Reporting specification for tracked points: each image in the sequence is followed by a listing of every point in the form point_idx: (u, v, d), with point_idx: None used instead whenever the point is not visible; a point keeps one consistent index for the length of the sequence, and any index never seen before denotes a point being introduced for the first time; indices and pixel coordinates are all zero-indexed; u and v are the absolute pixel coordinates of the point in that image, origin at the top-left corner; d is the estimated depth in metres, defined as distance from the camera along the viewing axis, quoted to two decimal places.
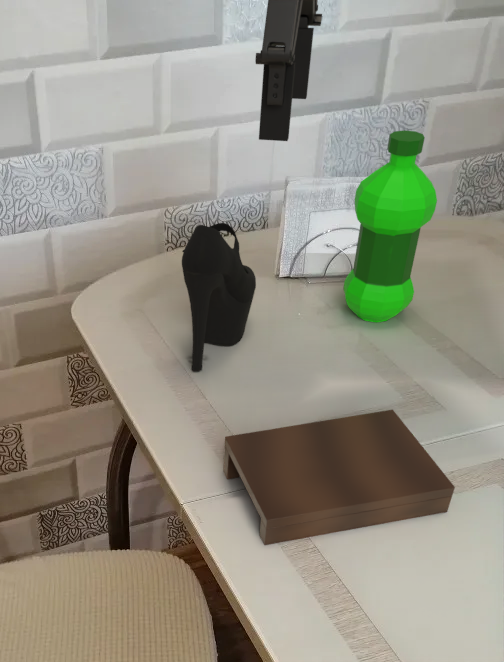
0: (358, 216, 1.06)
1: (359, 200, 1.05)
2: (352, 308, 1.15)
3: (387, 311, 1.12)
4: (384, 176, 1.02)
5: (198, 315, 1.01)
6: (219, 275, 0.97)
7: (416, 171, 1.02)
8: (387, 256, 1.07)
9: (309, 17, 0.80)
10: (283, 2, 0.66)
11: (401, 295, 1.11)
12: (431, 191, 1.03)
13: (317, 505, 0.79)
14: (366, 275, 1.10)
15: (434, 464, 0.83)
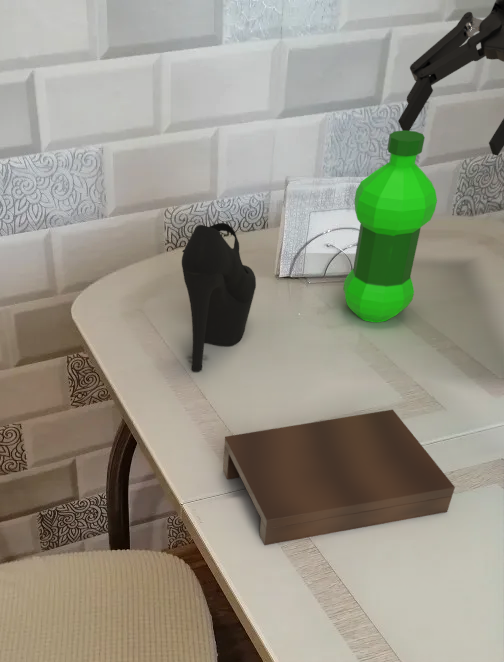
0: (358, 216, 1.06)
1: (359, 200, 1.05)
2: (352, 308, 1.15)
3: (387, 311, 1.12)
4: (384, 176, 1.02)
5: (198, 315, 1.01)
6: (219, 275, 0.97)
7: (416, 171, 1.02)
8: (387, 256, 1.07)
9: (434, 81, 1.11)
10: None
11: (401, 295, 1.11)
12: (431, 191, 1.03)
13: (317, 505, 0.79)
14: (366, 275, 1.10)
15: (434, 464, 0.83)
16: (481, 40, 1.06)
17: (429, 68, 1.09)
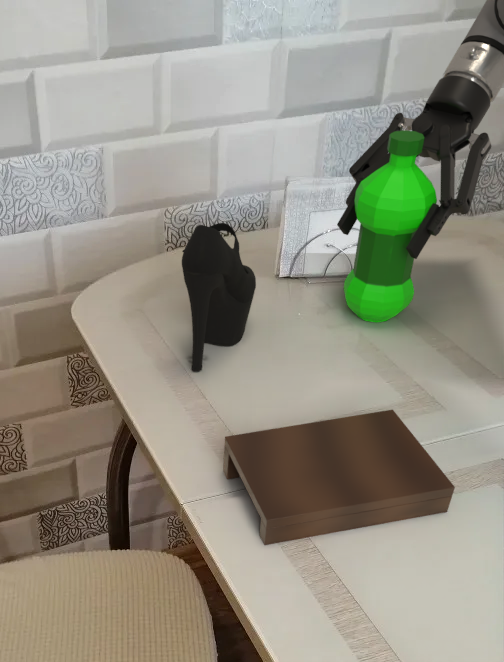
0: (358, 216, 1.06)
1: (359, 200, 1.05)
2: (352, 308, 1.15)
3: (387, 311, 1.12)
4: (384, 176, 1.02)
5: (198, 315, 1.01)
6: (219, 275, 0.97)
7: (416, 172, 1.02)
8: (387, 256, 1.07)
9: None
10: (475, 178, 1.02)
11: (401, 295, 1.11)
12: (431, 191, 1.03)
13: (317, 505, 0.79)
14: (366, 275, 1.10)
15: (434, 464, 0.83)
16: None
17: (367, 172, 1.09)
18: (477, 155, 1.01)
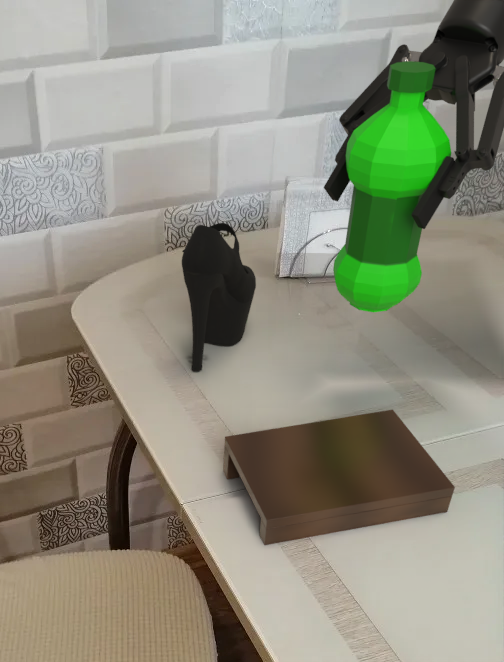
0: (350, 175, 0.83)
1: (351, 153, 0.81)
2: (344, 294, 0.91)
3: (388, 297, 0.88)
4: (383, 121, 0.79)
5: (198, 315, 1.01)
6: (219, 275, 0.97)
7: (424, 114, 0.79)
8: (387, 226, 0.84)
9: None
10: (501, 122, 0.79)
11: (405, 276, 0.87)
12: (444, 141, 0.79)
13: (317, 505, 0.79)
14: (360, 252, 0.87)
15: (434, 464, 0.83)
16: None
17: (362, 120, 0.86)
18: None
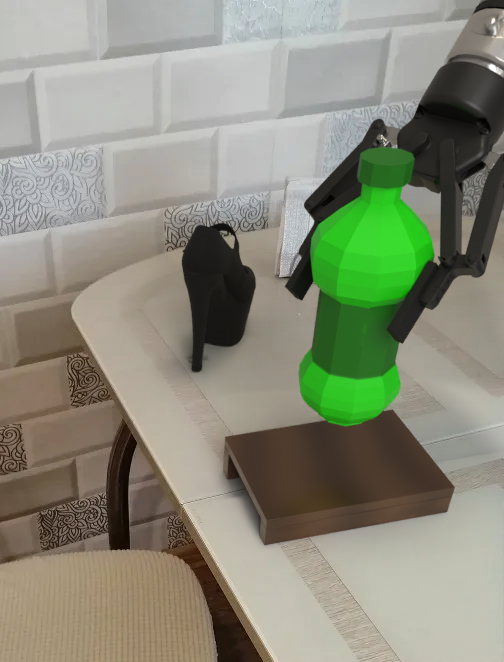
0: (314, 277, 0.69)
1: (315, 254, 0.68)
2: (310, 406, 0.78)
3: (361, 413, 0.75)
4: (353, 218, 0.66)
5: (198, 315, 1.01)
6: (219, 275, 0.97)
7: (402, 212, 0.65)
8: (358, 337, 0.71)
9: None
10: (494, 221, 0.65)
11: (381, 391, 0.74)
12: (426, 242, 0.66)
13: (317, 505, 0.79)
14: (328, 363, 0.74)
15: (434, 464, 0.83)
16: None
17: (330, 208, 0.72)
18: (498, 187, 0.64)
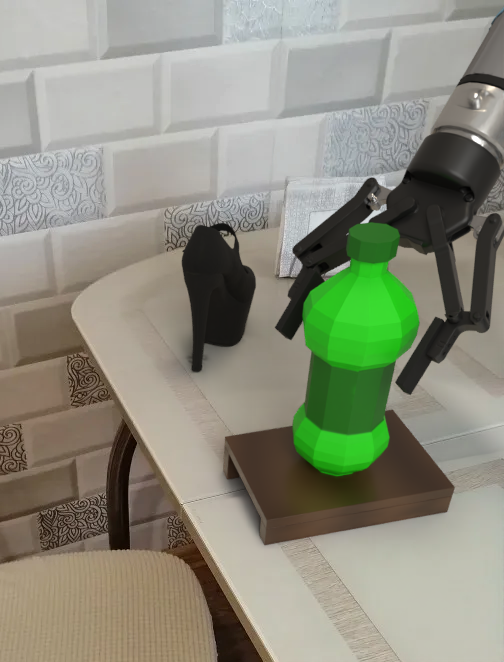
0: (306, 341, 0.73)
1: (307, 321, 0.72)
2: (303, 457, 0.82)
3: (351, 466, 0.79)
4: (342, 289, 0.70)
5: (198, 315, 1.01)
6: (219, 275, 0.97)
7: (388, 283, 0.69)
8: (348, 397, 0.75)
9: (327, 270, 0.78)
10: (491, 279, 0.68)
11: (371, 446, 0.78)
12: (411, 311, 0.70)
13: (317, 505, 0.79)
14: (320, 419, 0.78)
15: (434, 464, 0.83)
16: (387, 223, 0.73)
17: (318, 255, 0.76)
18: (489, 247, 0.68)
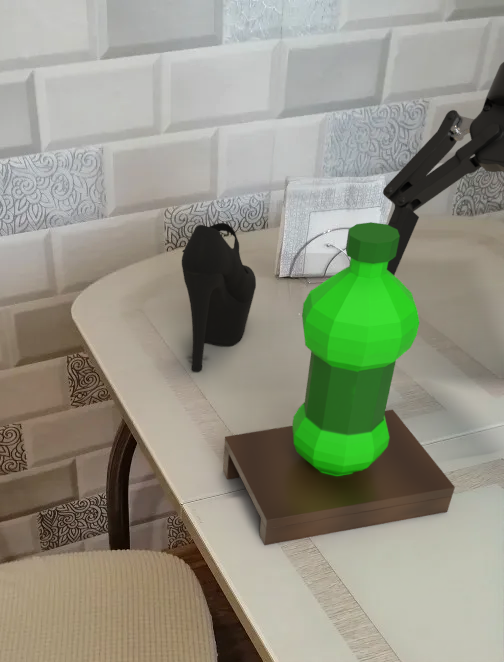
0: (306, 341, 0.73)
1: (306, 321, 0.72)
2: (303, 457, 0.82)
3: (351, 466, 0.79)
4: (342, 289, 0.70)
5: (198, 315, 1.01)
6: (219, 275, 0.97)
7: (388, 283, 0.69)
8: (348, 397, 0.75)
9: (419, 205, 0.83)
10: None
11: (370, 446, 0.78)
12: (411, 311, 0.70)
13: (317, 505, 0.79)
14: (320, 419, 0.78)
15: (434, 464, 0.83)
16: (474, 152, 0.77)
17: (409, 193, 0.81)
18: None
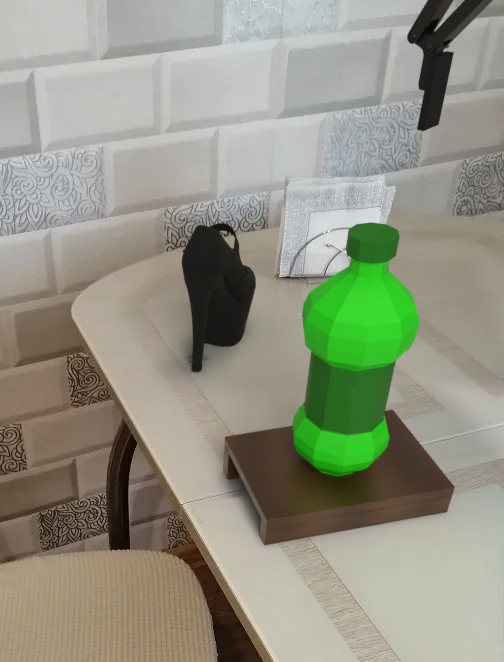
0: (306, 341, 0.73)
1: (306, 321, 0.72)
2: (303, 457, 0.82)
3: (351, 466, 0.79)
4: (342, 289, 0.70)
5: (198, 315, 1.01)
6: (219, 275, 0.97)
7: (388, 283, 0.69)
8: (348, 397, 0.75)
9: (451, 40, 0.75)
10: None
11: (370, 446, 0.78)
12: (411, 311, 0.70)
13: (317, 505, 0.79)
14: (320, 419, 0.78)
15: (434, 464, 0.83)
16: None
17: (435, 39, 0.74)
18: None
